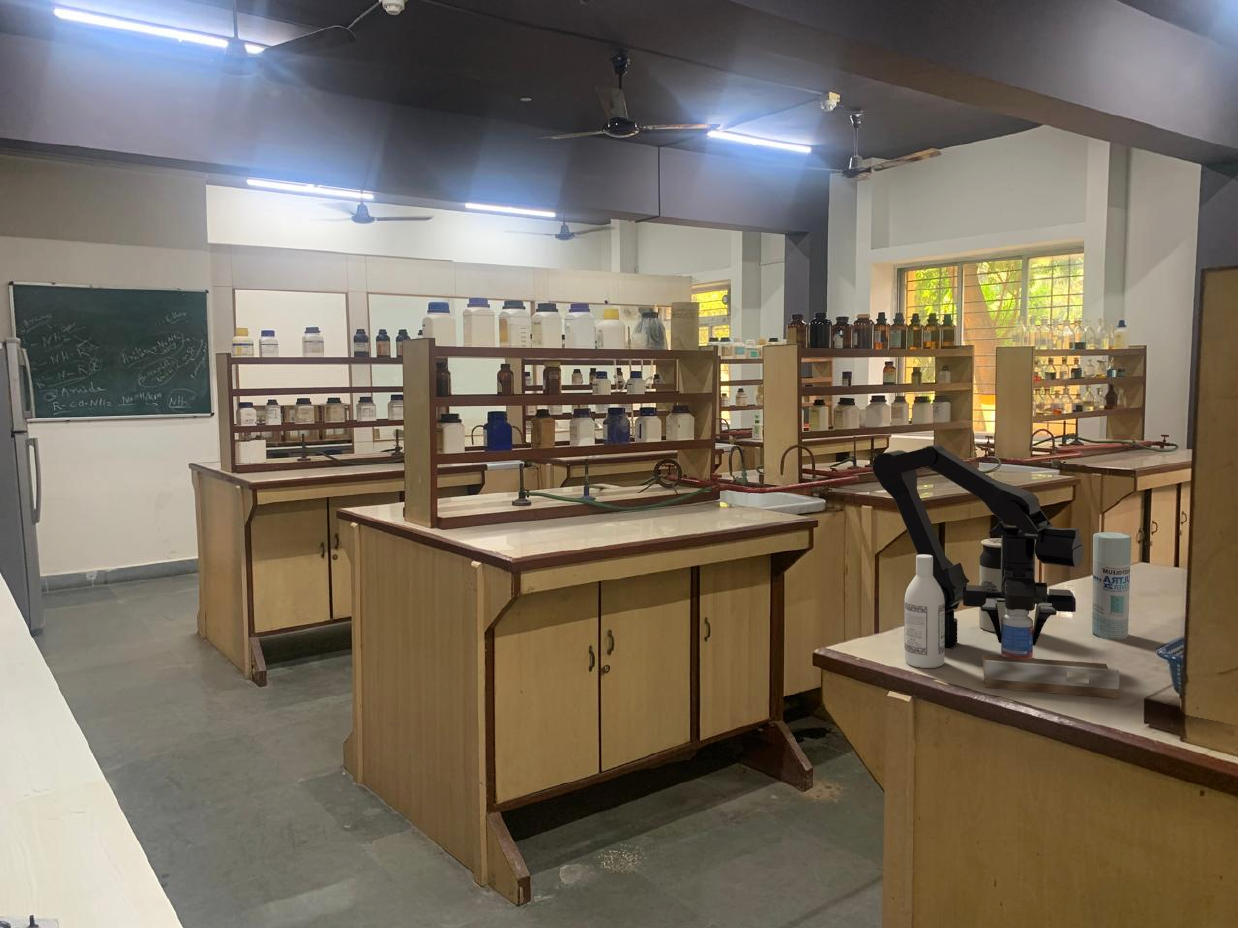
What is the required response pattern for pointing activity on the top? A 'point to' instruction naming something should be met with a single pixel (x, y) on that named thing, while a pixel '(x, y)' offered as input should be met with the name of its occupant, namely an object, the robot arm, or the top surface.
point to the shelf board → (1051, 676)
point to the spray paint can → (1111, 585)
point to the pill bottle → (1017, 634)
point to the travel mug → (991, 578)
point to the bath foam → (924, 617)
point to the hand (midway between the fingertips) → (1016, 643)
